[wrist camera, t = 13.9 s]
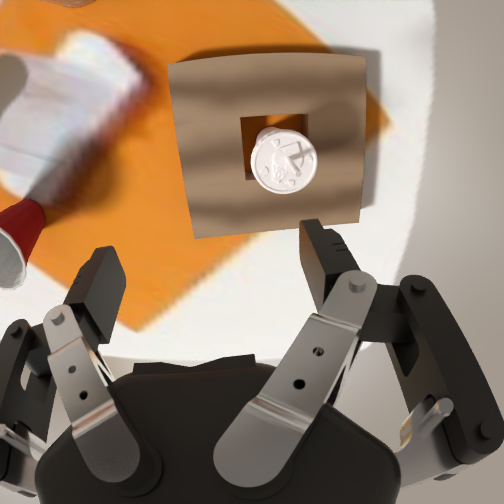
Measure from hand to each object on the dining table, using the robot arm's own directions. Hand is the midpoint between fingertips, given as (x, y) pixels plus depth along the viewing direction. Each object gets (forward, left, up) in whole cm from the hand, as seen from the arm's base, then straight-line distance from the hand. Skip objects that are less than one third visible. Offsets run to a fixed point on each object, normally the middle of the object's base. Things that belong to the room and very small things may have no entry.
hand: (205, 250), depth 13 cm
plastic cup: (+7, -31, -26) cm, 41 cm away
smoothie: (+2, +6, -26) cm, 27 cm away
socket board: (+2, +6, -26) cm, 27 cm away
